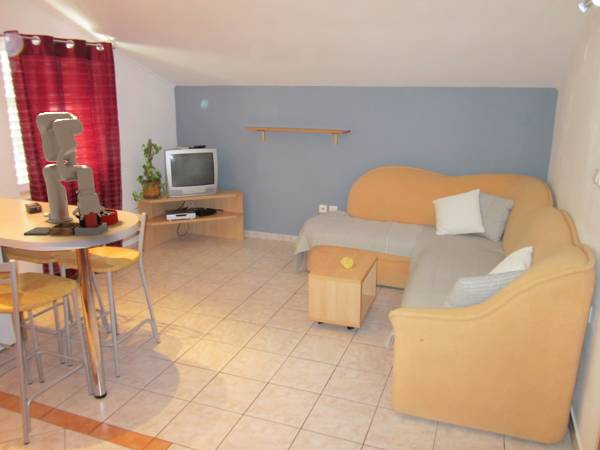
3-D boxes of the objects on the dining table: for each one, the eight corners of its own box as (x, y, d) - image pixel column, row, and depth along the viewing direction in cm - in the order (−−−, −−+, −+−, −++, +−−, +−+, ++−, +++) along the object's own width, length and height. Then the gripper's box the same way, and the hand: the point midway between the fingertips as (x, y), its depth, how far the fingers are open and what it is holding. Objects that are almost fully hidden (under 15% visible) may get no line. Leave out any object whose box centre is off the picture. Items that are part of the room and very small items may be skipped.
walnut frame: (49, 234, 257) (48, 228, 256) (61, 229, 268) (60, 222, 268) (72, 235, 257) (71, 228, 256) (82, 229, 268) (82, 222, 267)
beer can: (87, 230, 265) (84, 208, 262) (100, 230, 265) (97, 207, 262) (82, 233, 259) (80, 210, 256) (96, 233, 259) (93, 210, 256)
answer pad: (24, 235, 258) (23, 233, 257) (37, 229, 269) (36, 227, 269) (47, 235, 257) (47, 233, 257) (59, 229, 269) (59, 227, 268)
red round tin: (100, 207, 293) (125, 211, 284) (101, 217, 295) (126, 221, 285) (70, 214, 276) (95, 218, 267) (71, 225, 278) (96, 229, 268)
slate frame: (75, 235, 257) (74, 228, 256) (85, 229, 268) (84, 222, 267) (97, 235, 256) (97, 228, 255) (107, 229, 267) (106, 222, 266)
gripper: (71, 195, 248) (76, 230, 253) (107, 190, 260) (110, 224, 264) (66, 193, 254) (70, 227, 258) (101, 188, 265) (104, 221, 270)
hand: (90, 225), depth 261 cm, fingers open, 7 cm apart
